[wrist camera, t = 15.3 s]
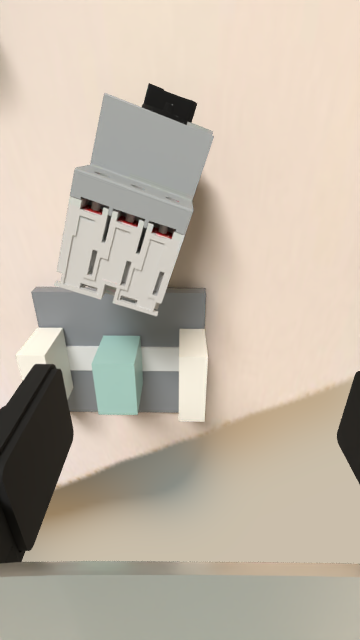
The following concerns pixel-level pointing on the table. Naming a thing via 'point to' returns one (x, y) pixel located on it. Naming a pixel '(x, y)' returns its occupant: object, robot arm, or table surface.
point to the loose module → (118, 375)
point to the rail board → (115, 320)
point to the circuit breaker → (133, 200)
